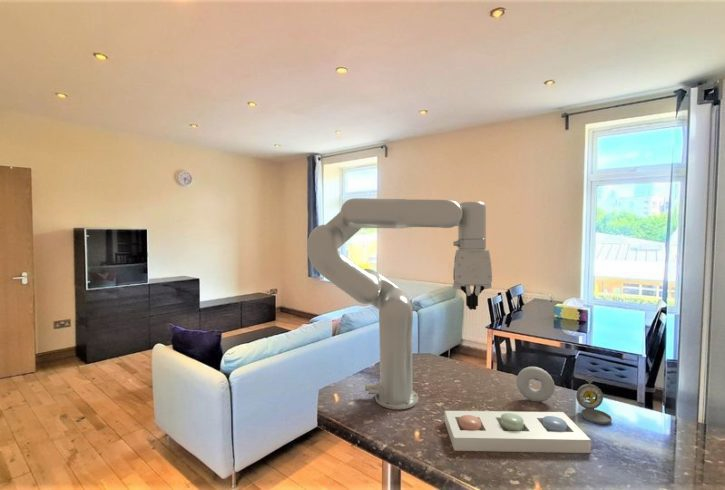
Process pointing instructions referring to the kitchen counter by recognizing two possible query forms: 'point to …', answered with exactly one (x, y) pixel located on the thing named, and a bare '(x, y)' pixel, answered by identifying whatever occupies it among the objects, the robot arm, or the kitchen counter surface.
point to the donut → (535, 394)
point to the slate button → (554, 424)
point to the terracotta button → (469, 423)
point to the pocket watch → (592, 403)
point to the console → (516, 434)
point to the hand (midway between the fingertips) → (472, 308)
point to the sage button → (511, 422)
